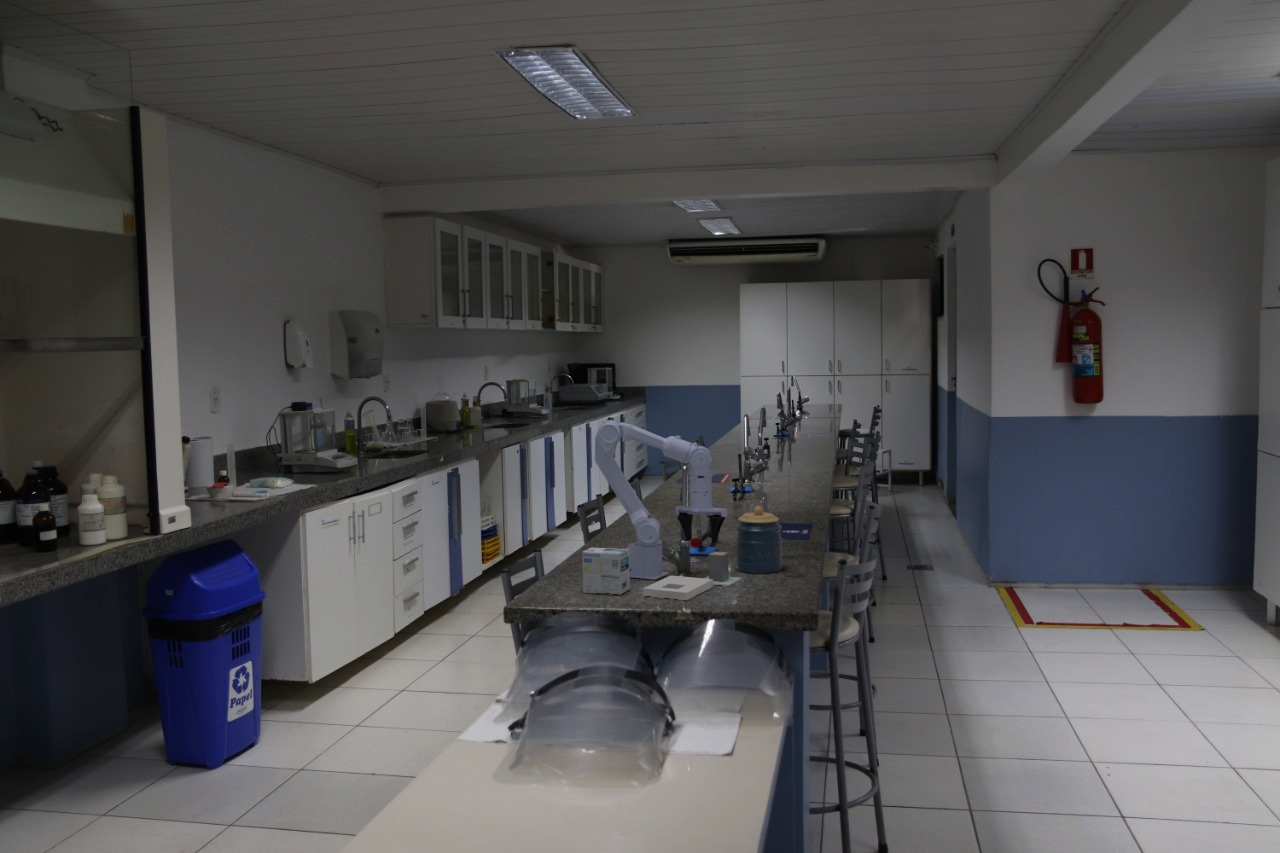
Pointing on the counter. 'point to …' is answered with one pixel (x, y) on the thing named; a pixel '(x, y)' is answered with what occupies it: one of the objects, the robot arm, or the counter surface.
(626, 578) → the light bulb box
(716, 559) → the plug
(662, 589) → the plate
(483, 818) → the counter surface
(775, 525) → the canister
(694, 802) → the counter surface
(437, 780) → the counter surface
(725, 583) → the mat
